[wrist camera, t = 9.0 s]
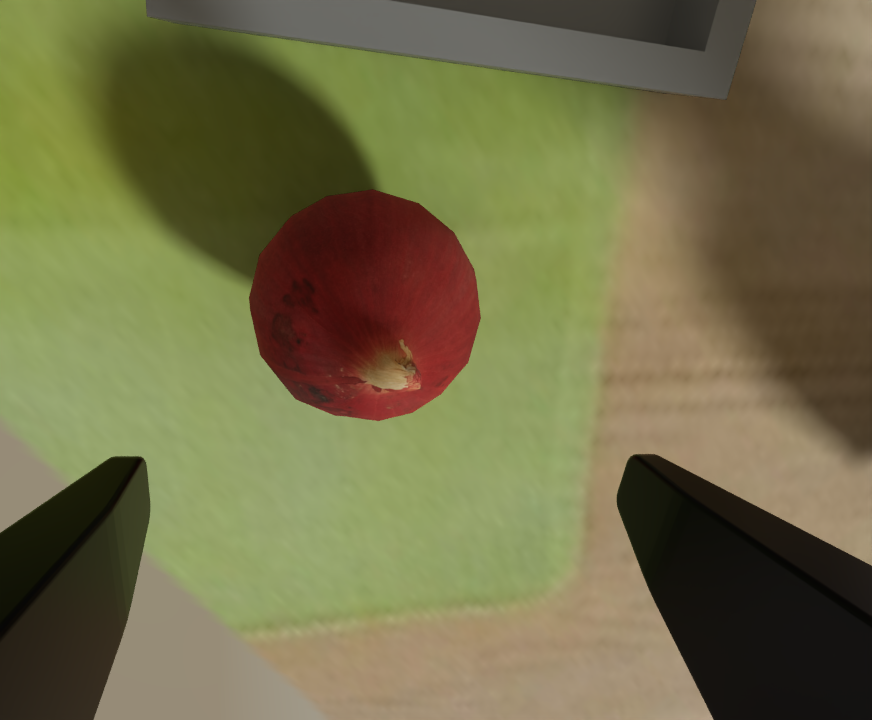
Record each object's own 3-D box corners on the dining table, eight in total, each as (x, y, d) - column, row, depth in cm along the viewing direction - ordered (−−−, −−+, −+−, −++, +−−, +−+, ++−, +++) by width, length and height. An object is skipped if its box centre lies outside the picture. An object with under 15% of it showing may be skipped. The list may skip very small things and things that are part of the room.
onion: (329, 377, 21) (340, 543, 14) (220, 234, 18) (162, 351, 11) (477, 289, 20) (567, 414, 13) (388, 130, 17) (442, 180, 10)
